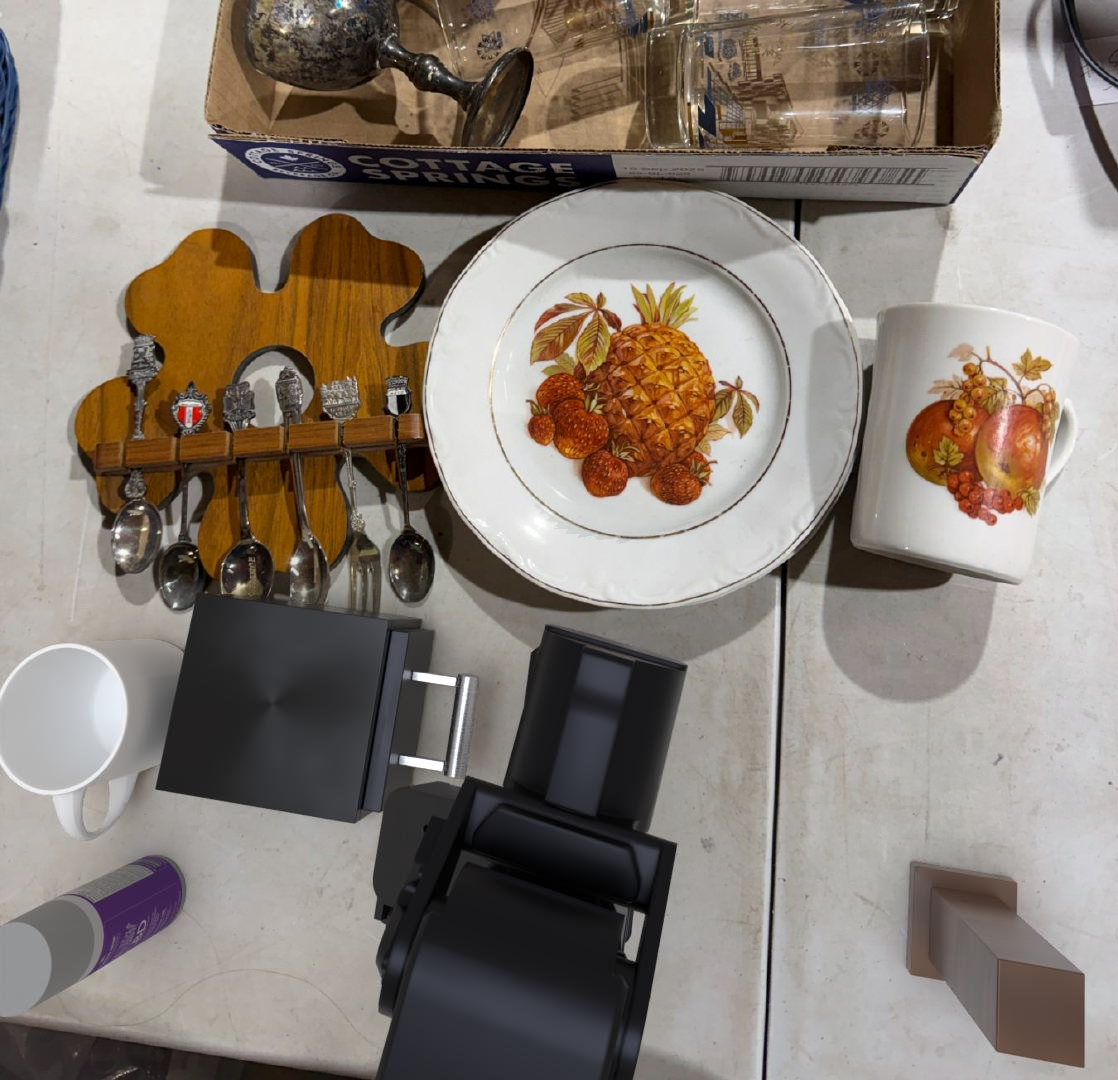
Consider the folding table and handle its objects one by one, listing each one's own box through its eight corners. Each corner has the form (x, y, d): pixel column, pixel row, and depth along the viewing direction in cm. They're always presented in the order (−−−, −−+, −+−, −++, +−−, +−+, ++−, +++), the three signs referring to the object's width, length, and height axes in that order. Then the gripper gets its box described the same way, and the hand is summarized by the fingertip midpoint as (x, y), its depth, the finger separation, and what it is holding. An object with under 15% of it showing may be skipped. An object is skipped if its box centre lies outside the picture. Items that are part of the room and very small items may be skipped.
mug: (74, 819, 69) (-30, 856, 59) (98, 636, 72) (2, 641, 62) (194, 824, 68) (109, 863, 58) (213, 639, 72) (135, 644, 61)
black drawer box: (422, 618, 70) (388, 619, 62) (394, 798, 67) (355, 824, 59) (251, 594, 72) (196, 592, 64) (216, 768, 69) (154, 789, 61)
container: (182, 934, 67) (46, 1023, 52) (114, 930, 67) (-38, 1017, 53) (189, 856, 68) (59, 921, 54) (123, 853, 68) (-23, 917, 54)
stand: (1009, 986, 61) (1108, 1098, 47) (906, 968, 62) (973, 1072, 48) (1011, 877, 62) (1107, 954, 48) (910, 861, 63) (976, 932, 49)
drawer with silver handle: (496, 639, 69) (477, 641, 62) (473, 804, 66) (451, 825, 59) (275, 607, 71) (234, 607, 64) (244, 766, 68) (199, 782, 62)
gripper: (397, 628, 43) (469, 623, 58) (314, 1133, 39) (415, 987, 54) (658, 666, 42) (662, 651, 57) (604, 1197, 37) (625, 1028, 52)
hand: (587, 822), depth 55 cm, fingers closed
